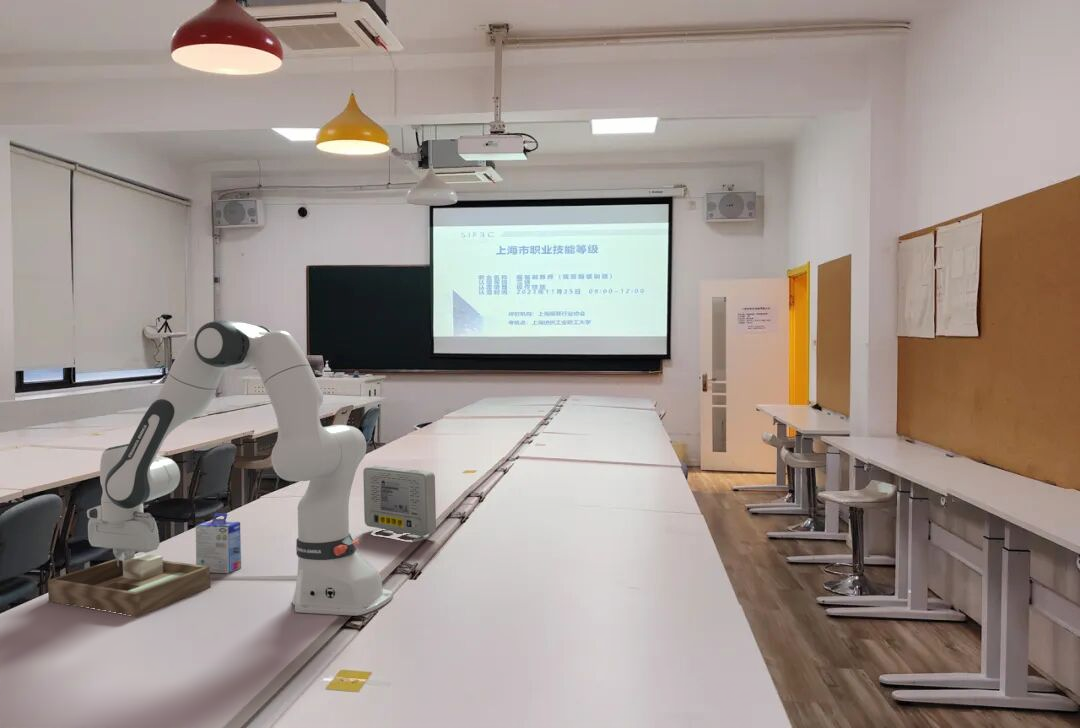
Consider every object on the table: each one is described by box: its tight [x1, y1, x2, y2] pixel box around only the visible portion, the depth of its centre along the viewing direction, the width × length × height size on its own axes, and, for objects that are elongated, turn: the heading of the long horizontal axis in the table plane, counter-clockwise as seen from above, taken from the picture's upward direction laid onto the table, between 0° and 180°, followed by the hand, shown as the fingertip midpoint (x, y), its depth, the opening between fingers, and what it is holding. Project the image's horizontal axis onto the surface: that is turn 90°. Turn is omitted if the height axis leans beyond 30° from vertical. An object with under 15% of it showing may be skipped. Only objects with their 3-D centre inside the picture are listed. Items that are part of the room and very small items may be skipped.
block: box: [123, 553, 164, 580], centre depth 175 cm, size 6×6×4 cm
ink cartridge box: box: [195, 512, 242, 574], centre depth 187 cm, size 10×6×14 cm, turn 78°
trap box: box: [47, 556, 211, 618], centre depth 170 cm, size 28×20×5 cm
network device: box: [362, 465, 437, 543], centre depth 218 cm, size 26×9×20 cm, turn 58°
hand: (124, 566), depth 177 cm, fingers closed
